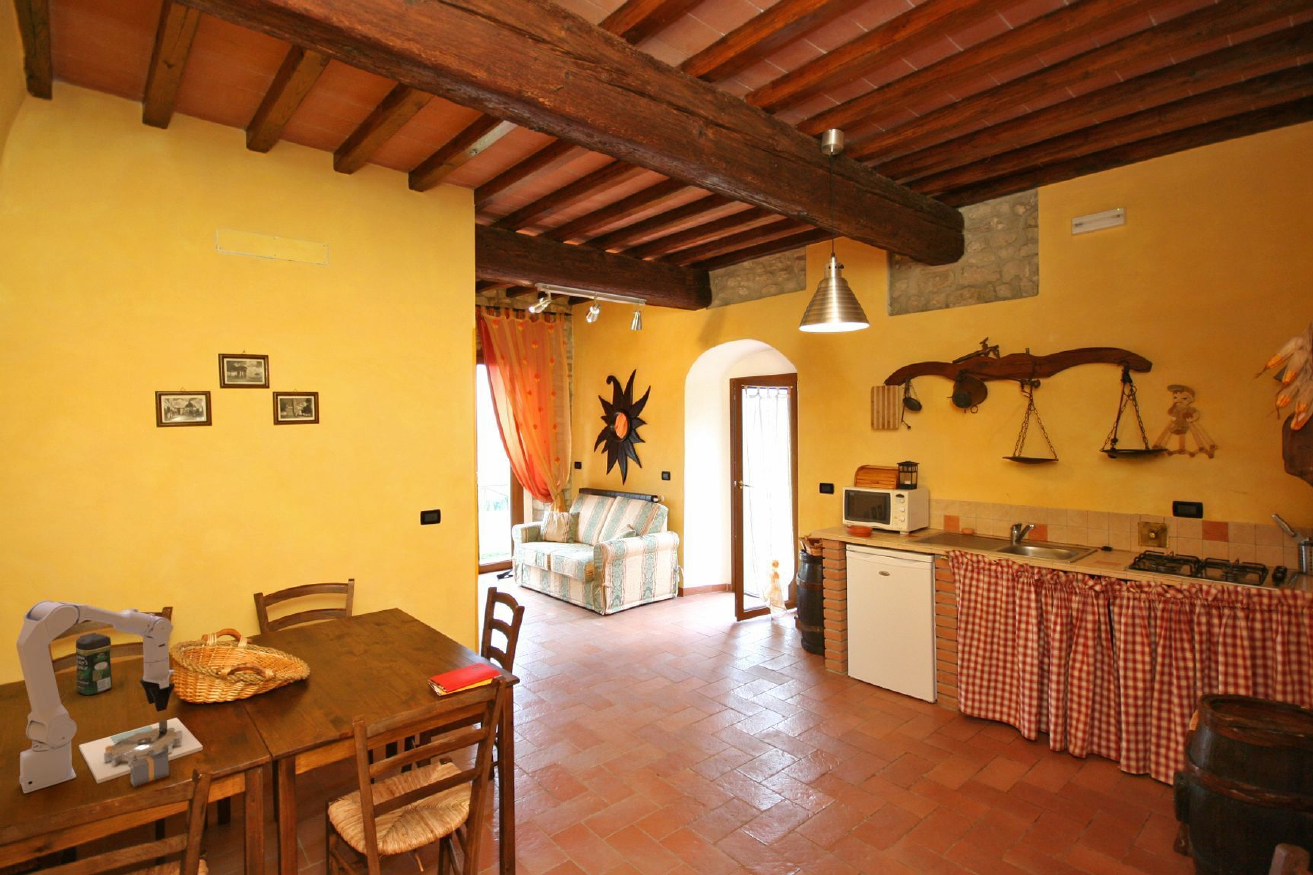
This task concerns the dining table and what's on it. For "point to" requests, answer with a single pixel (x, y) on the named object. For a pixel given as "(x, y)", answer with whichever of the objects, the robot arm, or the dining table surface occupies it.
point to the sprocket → (143, 745)
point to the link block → (149, 769)
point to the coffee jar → (93, 663)
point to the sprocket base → (106, 771)
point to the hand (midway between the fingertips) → (157, 706)
